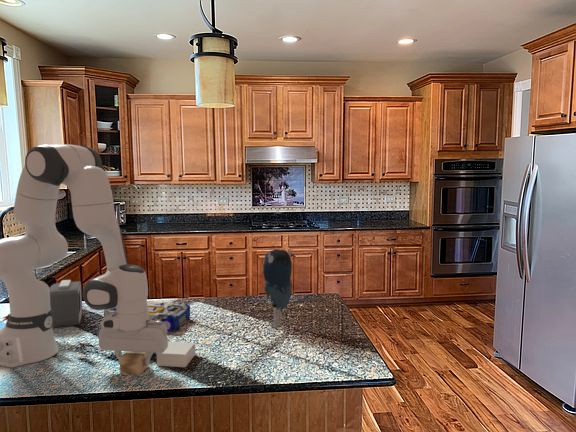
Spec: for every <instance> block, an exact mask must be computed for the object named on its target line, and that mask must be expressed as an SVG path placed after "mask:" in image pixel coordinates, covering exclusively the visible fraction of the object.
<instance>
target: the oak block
mask: <svg viewBox="0 0 576 432" xmlns="http://www.w3.org/2000/svg"><path fill="white" fill-rule="evenodd" d="M145 358H147V356H146V352H131V351H124V353H122V356H121V357H120V365H119V373H120V374H119V375H130V376H131V375H133V376H134V375H135V376H141V374H143V372H144V371H146V369H147V368H148V367H149V366H143V360H144V359H145Z"/></svg>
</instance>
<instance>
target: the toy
mask: <svg viewBox="0 0 576 432" xmlns="http://www.w3.org/2000/svg"><path fill="white" fill-rule="evenodd" d="M291 251H292V250H291V249H289V250H288V251H287V250H285V249H279V248H276V249H273V250H269V252H267V253H265V256H264V262H263V267H262V268H263V269H262V272H263V273H262V274H263V278H264V282H265V283H264V289H263V290H264V292H265V294H266V297H267V299H266V300H267V301H268V300H269V298H270V306H271V307H273V313H274V317H273V319H274V320H273V322H272V321H271V323H270V327H272V328H273V329H274V328H275V329H278V328H279V327H282V324H281V323H282V322H281V321H282V316H283V315H282V312H284V309H285V308H286V310H289V309H288V304H289V303H290V300H291V297H292V296H293V293H292V287H293V286H292V285H293V283H292V279H291V278H292V277H291V276H292V271H293V270H292V269H293V266H292V265H293V263H292V259H291V257H292V252H291Z"/></svg>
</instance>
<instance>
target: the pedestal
mask: <svg viewBox="0 0 576 432" xmlns="http://www.w3.org/2000/svg"><path fill="white" fill-rule="evenodd" d="M195 355H196V343H195V342H186V341H168V348H167V349H166V350H165V351H164V352H163V353H156V366H158V367H160V366H161V367H176V368H186V367H187V366H188V365H189V363H190V362H191V361H192V359H193V358H194V357H195Z"/></svg>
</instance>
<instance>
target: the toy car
mask: <svg viewBox="0 0 576 432" xmlns="http://www.w3.org/2000/svg"><path fill="white" fill-rule="evenodd" d="M147 305H148V312H149V320H153V321H162V322H163V323H165V324H166V325H167V333H168V332H171V331H173V332H177V331H179V330H180V329H181V328H182V327H183V326H184V325H185V324H187V323H188V322H189V321H190V319H191V305H190V304H187V303H184V302H183V301H180V300H178V299H176V298H175V299H170V300H169V301H168V302H167V303H166V302H164V301H162V302H154V301H153V302H151V301H147ZM114 313H117V310H116V308H111V309H105V310H103V319H105V318H106V317H108V316H110V315H112V314H114Z"/></svg>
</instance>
